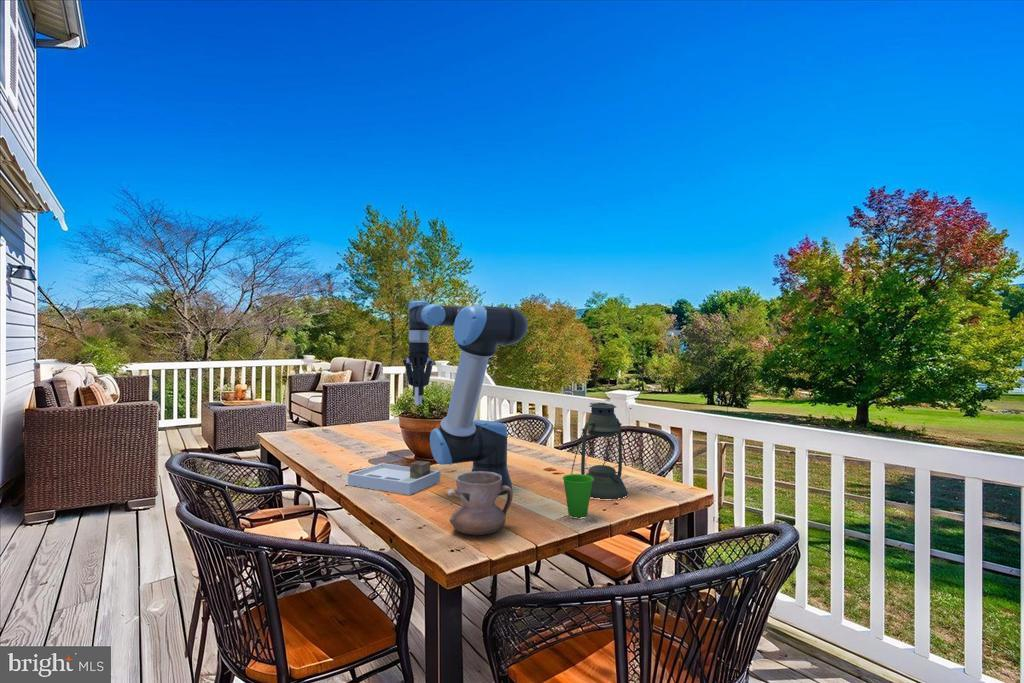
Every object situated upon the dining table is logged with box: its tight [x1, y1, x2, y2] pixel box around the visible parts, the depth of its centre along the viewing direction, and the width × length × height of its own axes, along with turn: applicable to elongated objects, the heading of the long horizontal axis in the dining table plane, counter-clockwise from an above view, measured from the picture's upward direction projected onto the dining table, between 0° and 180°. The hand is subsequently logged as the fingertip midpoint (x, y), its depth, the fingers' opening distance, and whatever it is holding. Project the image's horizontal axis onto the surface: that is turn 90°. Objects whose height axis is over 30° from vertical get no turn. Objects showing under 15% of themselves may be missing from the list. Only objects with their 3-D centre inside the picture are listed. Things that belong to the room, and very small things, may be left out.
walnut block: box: [409, 460, 431, 479], centre depth 176 cm, size 5×5×5 cm
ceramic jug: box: [446, 471, 514, 536], centre depth 133 cm, size 18×14×14 cm
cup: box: [562, 473, 594, 518], centre depth 145 cm, size 9×9×11 cm
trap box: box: [347, 462, 441, 496], centre depth 176 cm, size 26×18×4 cm
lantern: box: [570, 402, 629, 499], centre depth 168 cm, size 21×18×30 cm
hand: (418, 404), depth 189 cm, fingers closed
